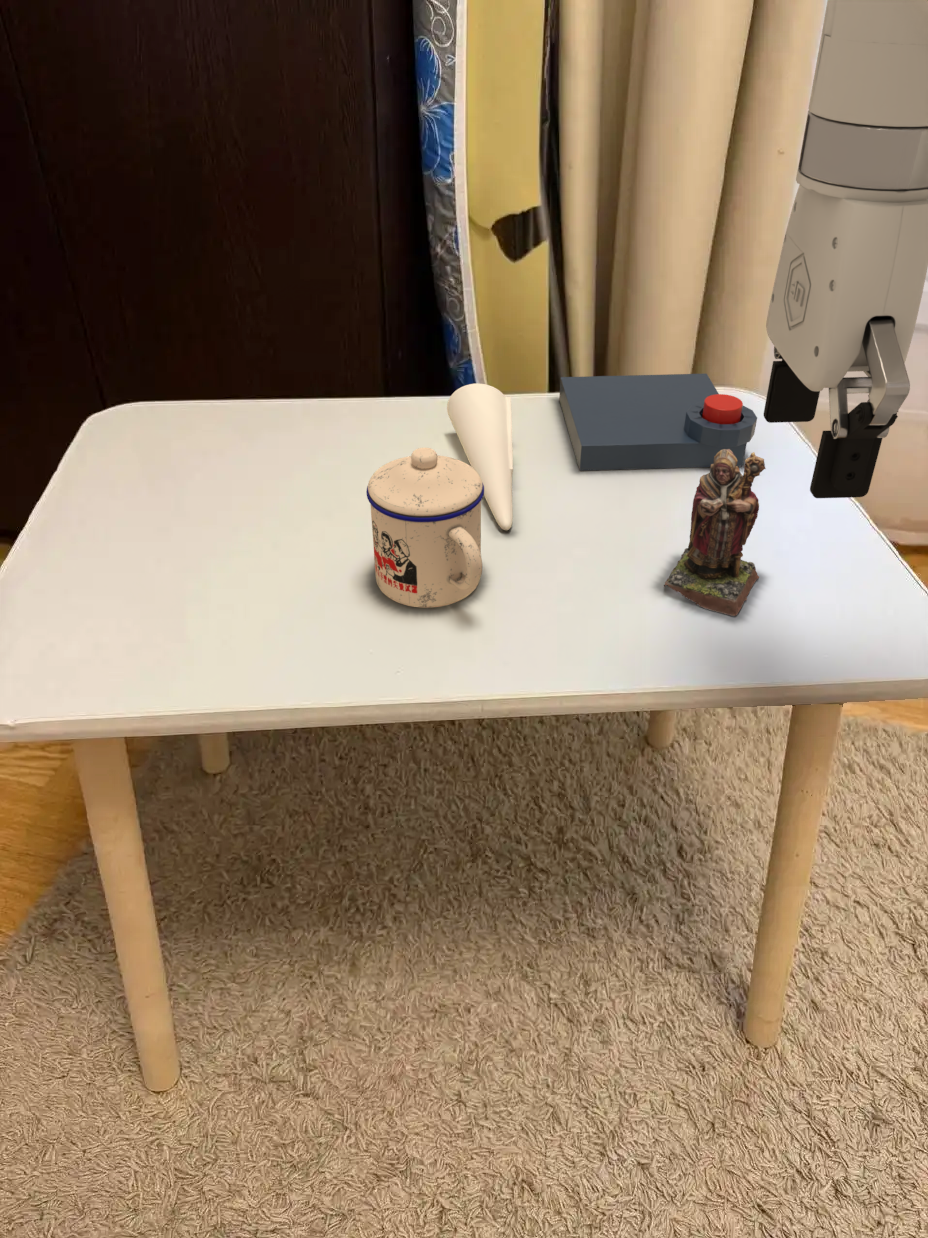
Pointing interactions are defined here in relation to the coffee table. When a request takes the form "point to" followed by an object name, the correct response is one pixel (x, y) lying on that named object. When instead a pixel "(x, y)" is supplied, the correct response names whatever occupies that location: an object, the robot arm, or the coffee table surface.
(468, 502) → the teacup with lid
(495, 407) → the long cone
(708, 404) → the button
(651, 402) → the button box
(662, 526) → the coffee table surface
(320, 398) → the coffee table surface
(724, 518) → the figurine
